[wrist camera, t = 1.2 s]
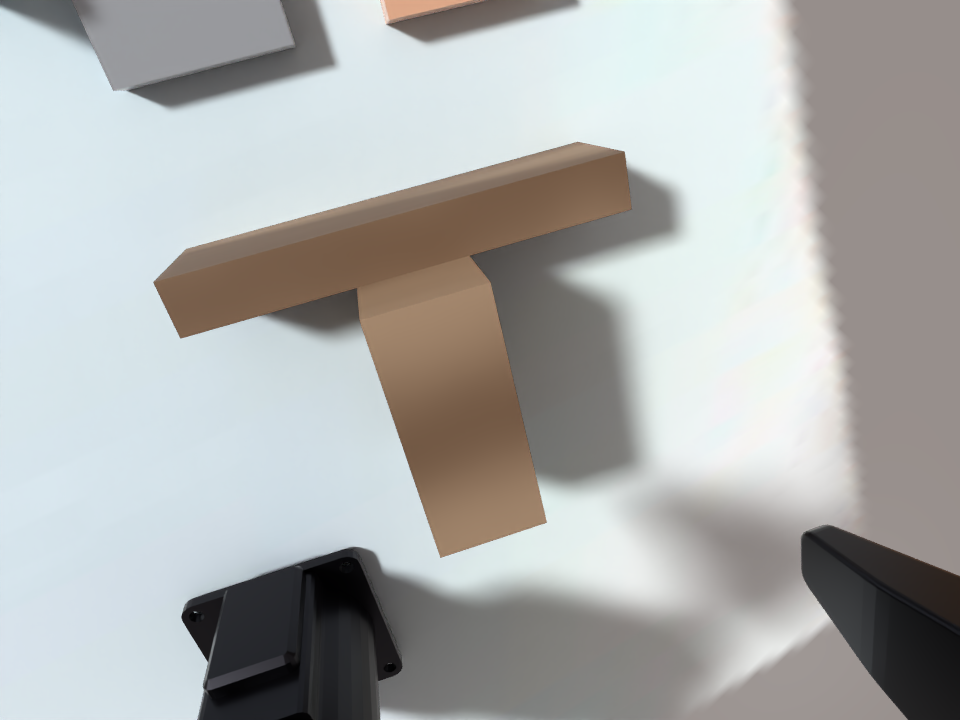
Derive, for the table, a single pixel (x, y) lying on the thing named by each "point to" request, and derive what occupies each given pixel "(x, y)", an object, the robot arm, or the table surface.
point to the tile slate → (179, 36)
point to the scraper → (421, 314)
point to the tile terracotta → (418, 8)
